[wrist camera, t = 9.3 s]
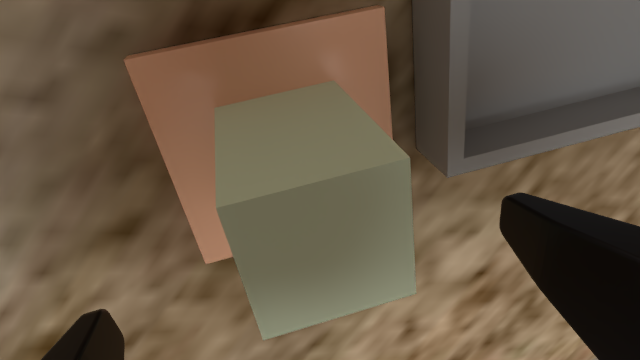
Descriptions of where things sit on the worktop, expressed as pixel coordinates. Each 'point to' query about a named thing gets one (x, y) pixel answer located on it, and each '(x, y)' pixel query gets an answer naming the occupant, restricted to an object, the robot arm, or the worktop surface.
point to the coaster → (251, 93)
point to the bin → (521, 77)
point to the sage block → (313, 206)
